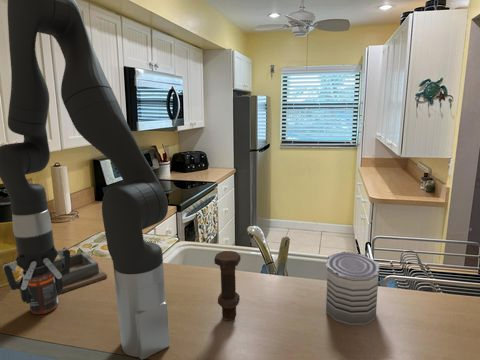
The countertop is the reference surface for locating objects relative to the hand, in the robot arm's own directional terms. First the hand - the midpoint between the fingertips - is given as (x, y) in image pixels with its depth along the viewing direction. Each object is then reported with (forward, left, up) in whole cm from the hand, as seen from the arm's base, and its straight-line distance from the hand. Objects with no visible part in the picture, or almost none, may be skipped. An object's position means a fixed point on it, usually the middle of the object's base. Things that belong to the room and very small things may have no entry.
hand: (43, 296), depth 85 cm
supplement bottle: (0, 0, -3) cm, 3 cm away
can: (-50, -52, -3) cm, 72 cm away
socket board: (+13, -10, -3) cm, 17 cm away
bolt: (-33, -30, -3) cm, 45 cm away
